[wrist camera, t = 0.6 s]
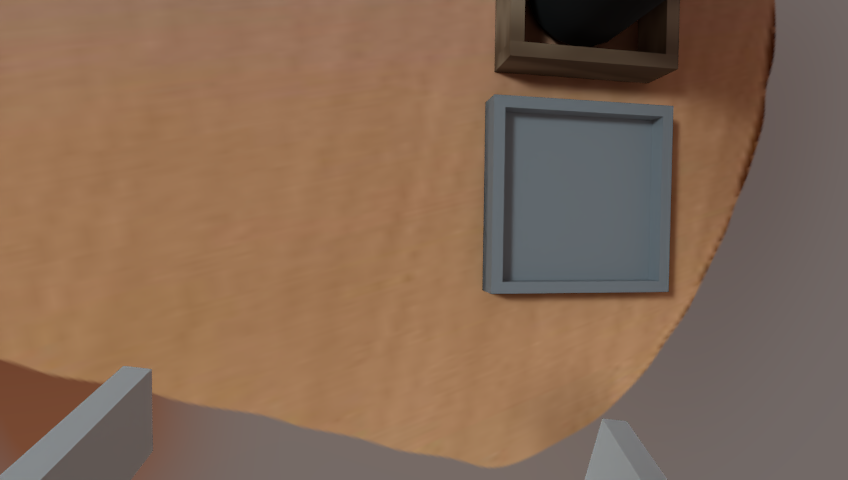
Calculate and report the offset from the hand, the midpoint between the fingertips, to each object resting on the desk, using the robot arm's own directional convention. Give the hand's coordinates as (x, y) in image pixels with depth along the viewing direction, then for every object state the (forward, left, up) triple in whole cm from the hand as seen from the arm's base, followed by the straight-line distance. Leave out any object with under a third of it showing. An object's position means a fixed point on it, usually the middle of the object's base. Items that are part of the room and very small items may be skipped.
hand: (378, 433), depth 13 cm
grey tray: (-9, +20, -27) cm, 35 cm away
